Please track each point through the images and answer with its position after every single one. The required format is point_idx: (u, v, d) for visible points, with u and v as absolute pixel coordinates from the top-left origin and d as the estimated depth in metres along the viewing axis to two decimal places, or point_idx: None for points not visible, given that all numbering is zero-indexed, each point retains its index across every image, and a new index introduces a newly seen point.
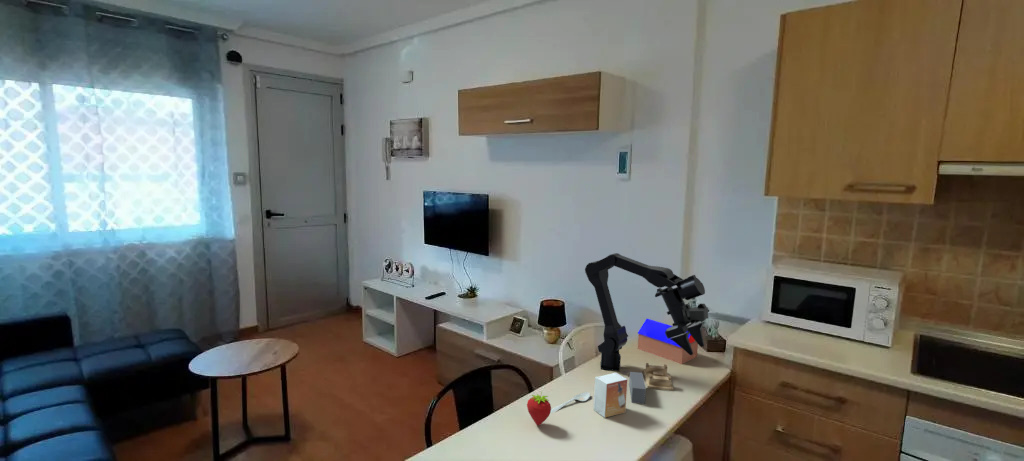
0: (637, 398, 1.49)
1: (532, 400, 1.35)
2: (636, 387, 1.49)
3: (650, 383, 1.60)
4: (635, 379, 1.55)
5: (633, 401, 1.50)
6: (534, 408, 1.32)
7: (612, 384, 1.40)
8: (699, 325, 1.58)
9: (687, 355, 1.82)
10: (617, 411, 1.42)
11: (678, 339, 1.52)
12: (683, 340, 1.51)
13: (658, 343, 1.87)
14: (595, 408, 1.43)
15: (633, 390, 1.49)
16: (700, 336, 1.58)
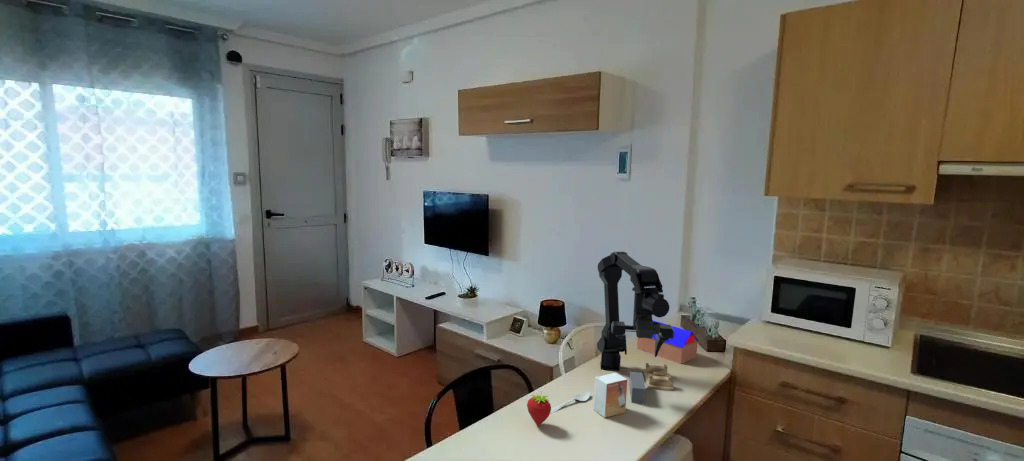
0: (637, 398, 1.49)
1: (532, 400, 1.34)
2: (636, 387, 1.49)
3: (650, 383, 1.60)
4: (635, 379, 1.55)
5: (633, 401, 1.50)
6: (534, 408, 1.32)
7: (612, 384, 1.40)
8: (659, 338, 1.50)
9: (686, 355, 1.82)
10: (617, 411, 1.42)
11: None
12: None
13: None
14: (595, 408, 1.43)
15: (633, 390, 1.49)
16: (656, 347, 1.52)
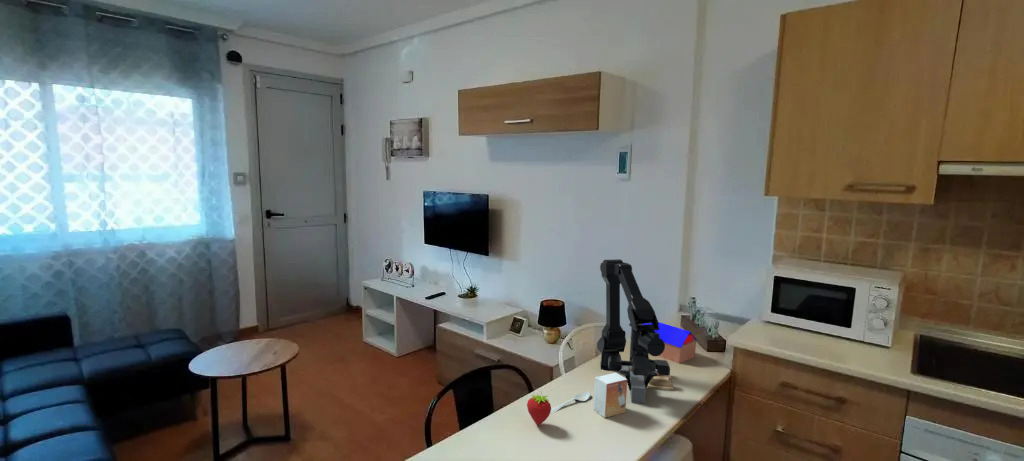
0: (637, 397, 1.49)
1: (532, 400, 1.34)
2: (636, 387, 1.49)
3: (650, 383, 1.60)
4: (635, 378, 1.55)
5: (633, 400, 1.50)
6: (534, 408, 1.32)
7: (612, 384, 1.40)
8: (647, 374, 1.52)
9: (685, 355, 1.83)
10: (617, 411, 1.42)
11: None
12: None
13: None
14: (595, 408, 1.43)
15: (633, 389, 1.49)
16: (645, 382, 1.53)
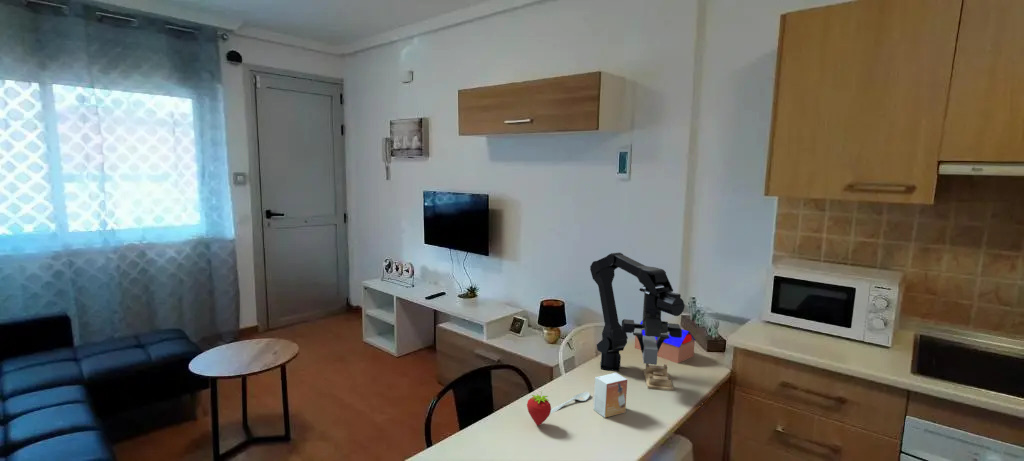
0: (649, 358, 1.53)
1: (532, 400, 1.35)
2: (648, 348, 1.53)
3: (650, 383, 1.60)
4: (647, 341, 1.59)
5: (645, 361, 1.53)
6: (534, 408, 1.32)
7: (612, 384, 1.39)
8: (659, 336, 1.55)
9: (683, 354, 1.83)
10: (617, 411, 1.42)
11: None
12: None
13: None
14: (595, 408, 1.43)
15: (645, 350, 1.53)
16: (657, 345, 1.57)
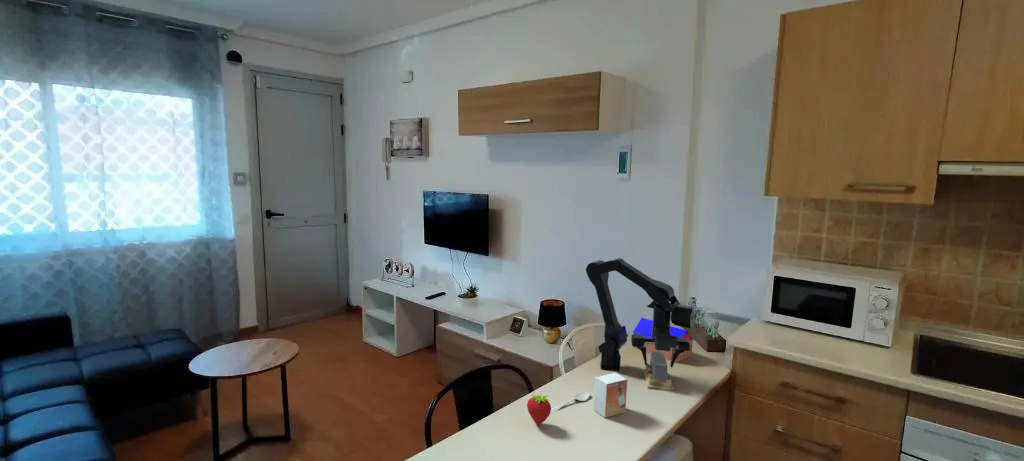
0: (659, 374, 1.59)
1: (532, 400, 1.35)
2: (659, 364, 1.59)
3: (650, 383, 1.60)
4: (656, 357, 1.65)
5: (655, 377, 1.60)
6: (534, 408, 1.32)
7: (612, 384, 1.39)
8: (675, 350, 1.61)
9: (681, 354, 1.83)
10: (617, 411, 1.42)
11: None
12: None
13: None
14: (595, 408, 1.43)
15: (655, 367, 1.59)
16: (672, 359, 1.63)
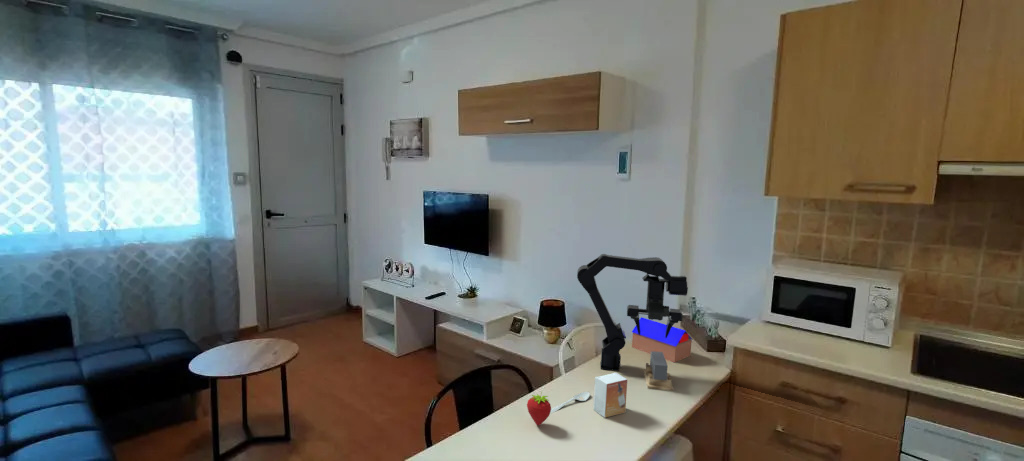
0: (659, 374, 1.59)
1: (532, 400, 1.35)
2: (659, 364, 1.59)
3: (650, 383, 1.60)
4: (656, 357, 1.65)
5: (655, 377, 1.60)
6: (534, 408, 1.32)
7: (612, 384, 1.39)
8: (669, 321, 1.69)
9: (680, 354, 1.84)
10: (617, 411, 1.42)
11: None
12: None
13: (652, 342, 1.89)
14: (595, 408, 1.43)
15: (655, 367, 1.59)
16: (666, 329, 1.70)
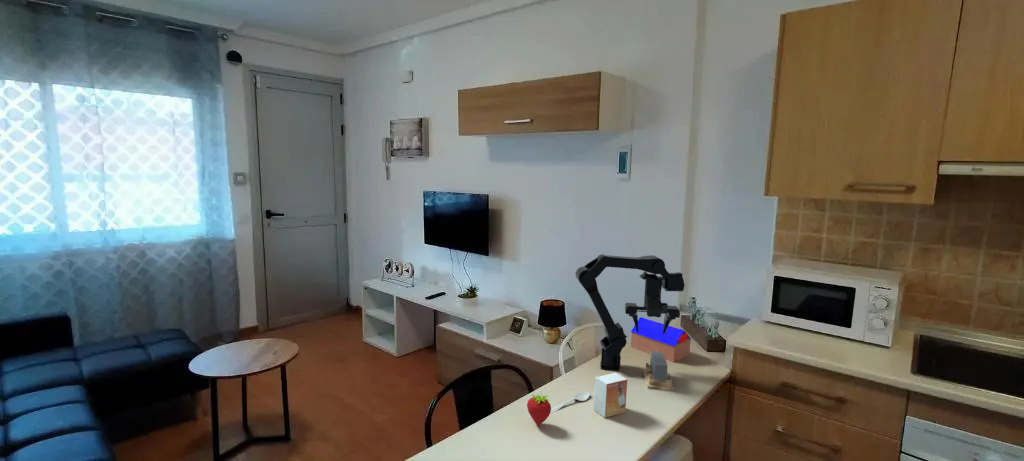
0: (659, 374, 1.59)
1: (532, 400, 1.34)
2: (659, 364, 1.59)
3: (650, 383, 1.60)
4: (656, 357, 1.65)
5: (655, 377, 1.60)
6: (534, 408, 1.32)
7: (612, 384, 1.39)
8: (666, 318, 1.71)
9: (679, 353, 1.84)
10: (617, 411, 1.42)
11: None
12: None
13: (650, 342, 1.89)
14: (595, 408, 1.43)
15: (655, 367, 1.59)
16: (664, 326, 1.73)
